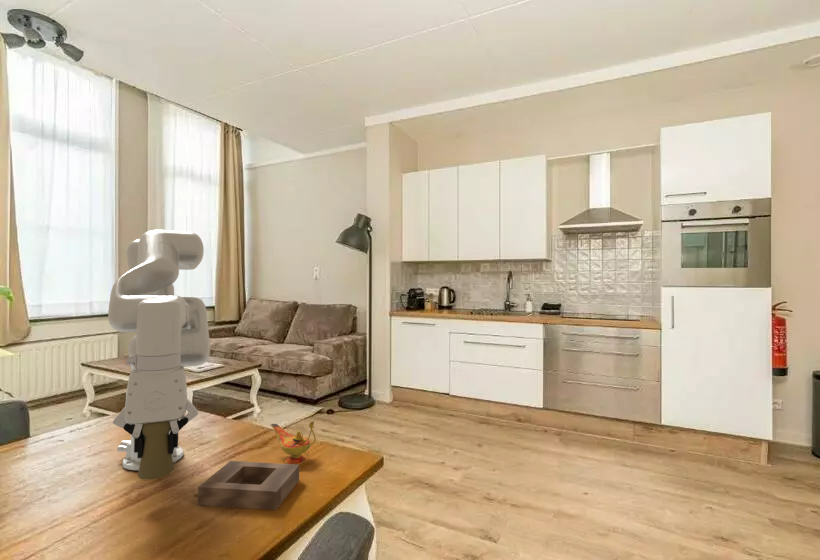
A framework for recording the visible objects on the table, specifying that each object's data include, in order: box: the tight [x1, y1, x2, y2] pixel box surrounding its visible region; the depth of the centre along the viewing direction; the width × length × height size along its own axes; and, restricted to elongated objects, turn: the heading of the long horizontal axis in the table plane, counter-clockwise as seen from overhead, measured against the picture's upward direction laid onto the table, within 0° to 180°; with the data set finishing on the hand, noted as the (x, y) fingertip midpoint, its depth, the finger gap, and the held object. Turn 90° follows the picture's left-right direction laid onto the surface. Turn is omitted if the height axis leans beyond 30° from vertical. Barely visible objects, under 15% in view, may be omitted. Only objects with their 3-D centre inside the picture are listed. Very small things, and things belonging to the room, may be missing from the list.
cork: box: [137, 421, 174, 481], centre depth 81 cm, size 6×6×11 cm
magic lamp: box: [270, 420, 317, 465], centre depth 102 cm, size 7×18×11 cm, turn 52°
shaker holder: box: [197, 460, 300, 511], centre depth 85 cm, size 16×12×4 cm
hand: (156, 452), depth 81 cm, fingers closed on cork, 4 cm apart
